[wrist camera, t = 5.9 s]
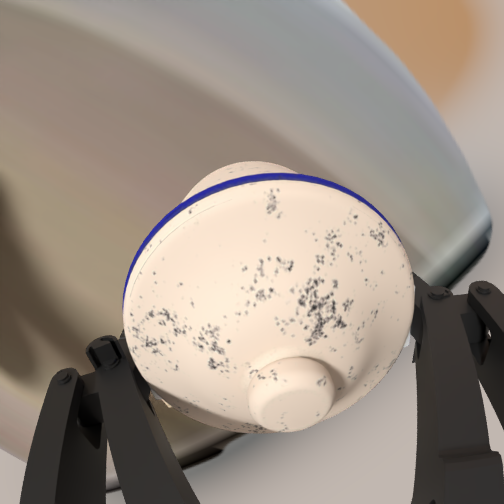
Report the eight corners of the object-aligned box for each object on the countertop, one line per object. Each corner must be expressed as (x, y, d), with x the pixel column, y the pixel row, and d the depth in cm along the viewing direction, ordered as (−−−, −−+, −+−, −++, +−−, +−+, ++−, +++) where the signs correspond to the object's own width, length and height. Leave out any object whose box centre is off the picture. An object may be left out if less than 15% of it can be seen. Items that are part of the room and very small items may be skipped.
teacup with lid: (139, 210, 16) (10, 336, 5) (290, 126, 15) (428, 106, 4) (244, 364, 20) (260, 526, 9) (367, 303, 19) (464, 440, 8)
